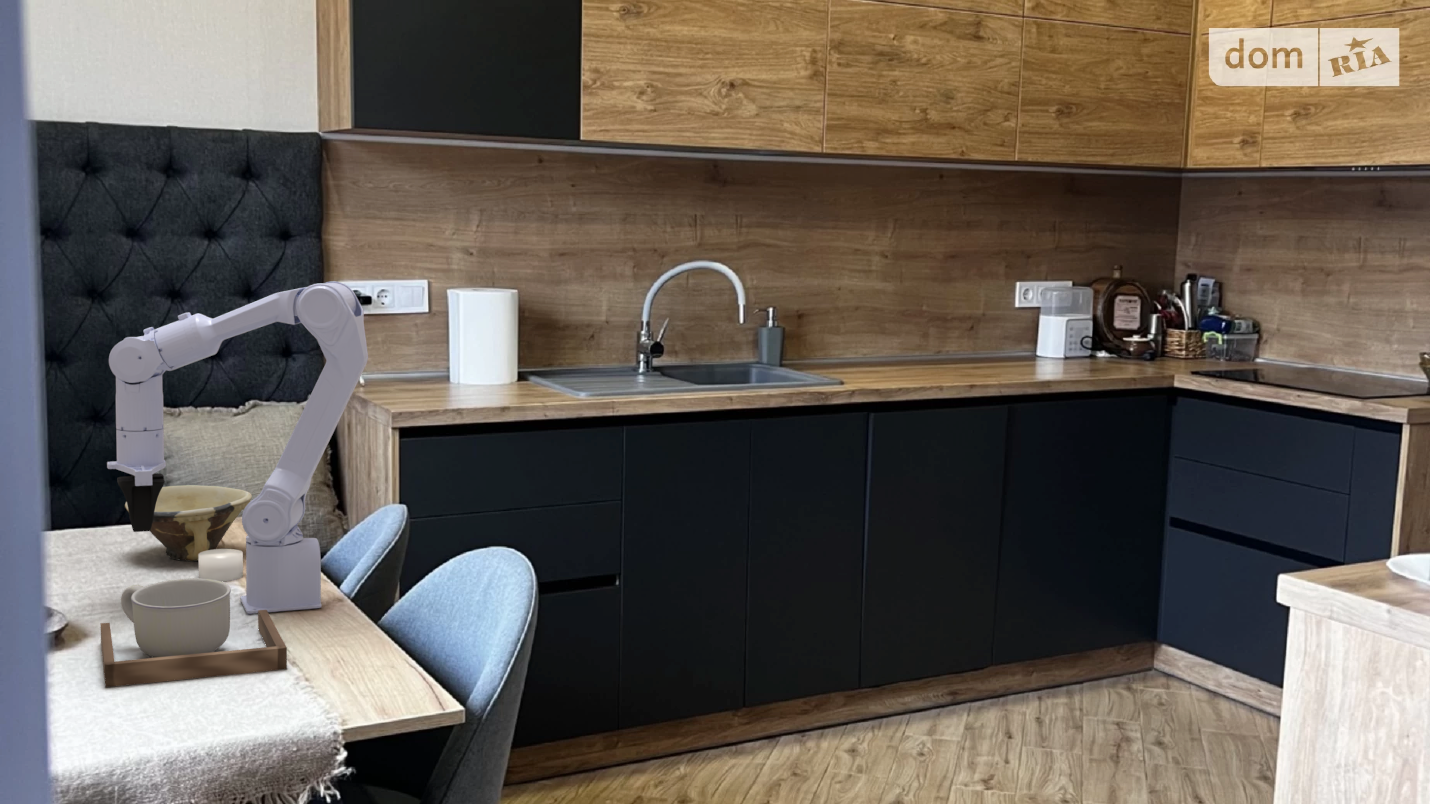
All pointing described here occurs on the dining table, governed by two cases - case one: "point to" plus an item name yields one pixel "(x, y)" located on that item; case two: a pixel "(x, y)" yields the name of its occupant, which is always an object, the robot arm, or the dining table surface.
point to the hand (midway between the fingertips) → (141, 530)
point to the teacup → (179, 616)
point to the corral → (195, 660)
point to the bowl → (195, 518)
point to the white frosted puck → (221, 564)
